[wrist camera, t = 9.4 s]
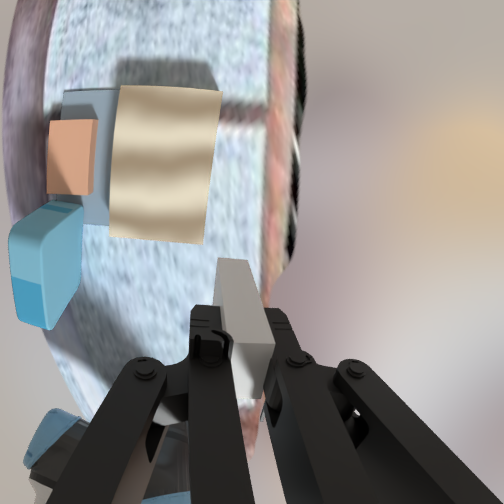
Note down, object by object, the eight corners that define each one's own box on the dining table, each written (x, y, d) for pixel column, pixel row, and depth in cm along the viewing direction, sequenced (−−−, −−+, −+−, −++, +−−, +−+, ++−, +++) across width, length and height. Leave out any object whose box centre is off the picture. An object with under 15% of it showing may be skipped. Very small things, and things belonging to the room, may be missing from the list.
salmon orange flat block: (46, 193, 30) (53, 190, 32) (87, 195, 31) (93, 192, 33) (50, 120, 27) (57, 120, 29) (92, 119, 28) (98, 119, 30)
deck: (202, 233, 37) (202, 244, 34) (118, 226, 35) (109, 236, 32) (221, 96, 31) (223, 91, 28) (129, 90, 29) (120, 85, 26)
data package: (56, 196, 32) (6, 228, 21) (85, 201, 33) (41, 237, 22) (55, 276, 36) (18, 326, 25) (81, 283, 37) (49, 336, 27)
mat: (118, 226, 35) (117, 226, 35) (58, 221, 34) (57, 222, 33) (129, 90, 29) (129, 89, 29) (64, 92, 28) (63, 92, 27)
